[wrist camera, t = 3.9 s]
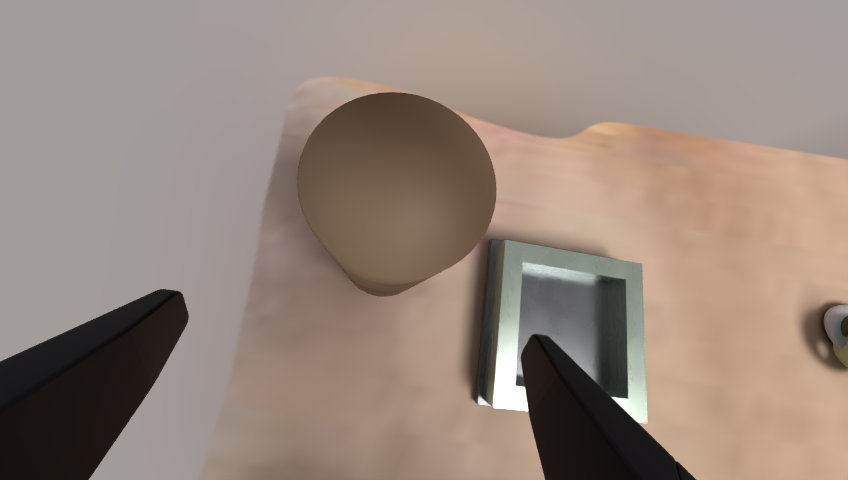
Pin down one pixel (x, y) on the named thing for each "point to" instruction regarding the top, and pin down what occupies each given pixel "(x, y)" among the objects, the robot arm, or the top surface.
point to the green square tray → (562, 321)
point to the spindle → (396, 189)
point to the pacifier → (837, 331)
